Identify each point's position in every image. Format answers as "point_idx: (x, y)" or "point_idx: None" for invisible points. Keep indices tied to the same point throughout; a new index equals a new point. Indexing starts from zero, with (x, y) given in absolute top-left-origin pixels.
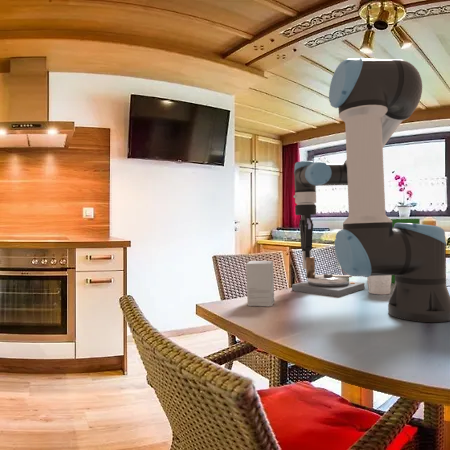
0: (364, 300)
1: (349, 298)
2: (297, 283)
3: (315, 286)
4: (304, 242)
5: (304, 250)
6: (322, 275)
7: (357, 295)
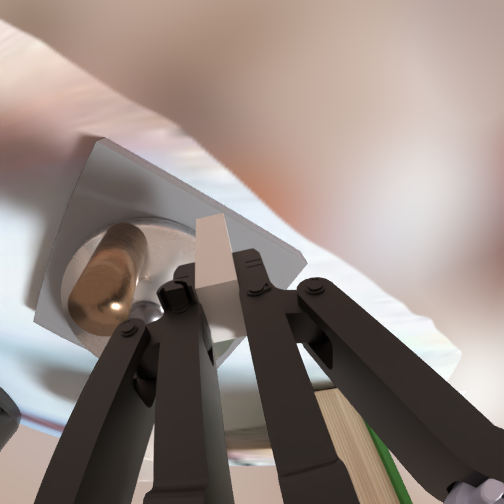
0: (30, 355)
1: (34, 330)
2: (136, 164)
3: (74, 251)
4: (160, 370)
5: (170, 305)
6: None
7: (80, 353)
